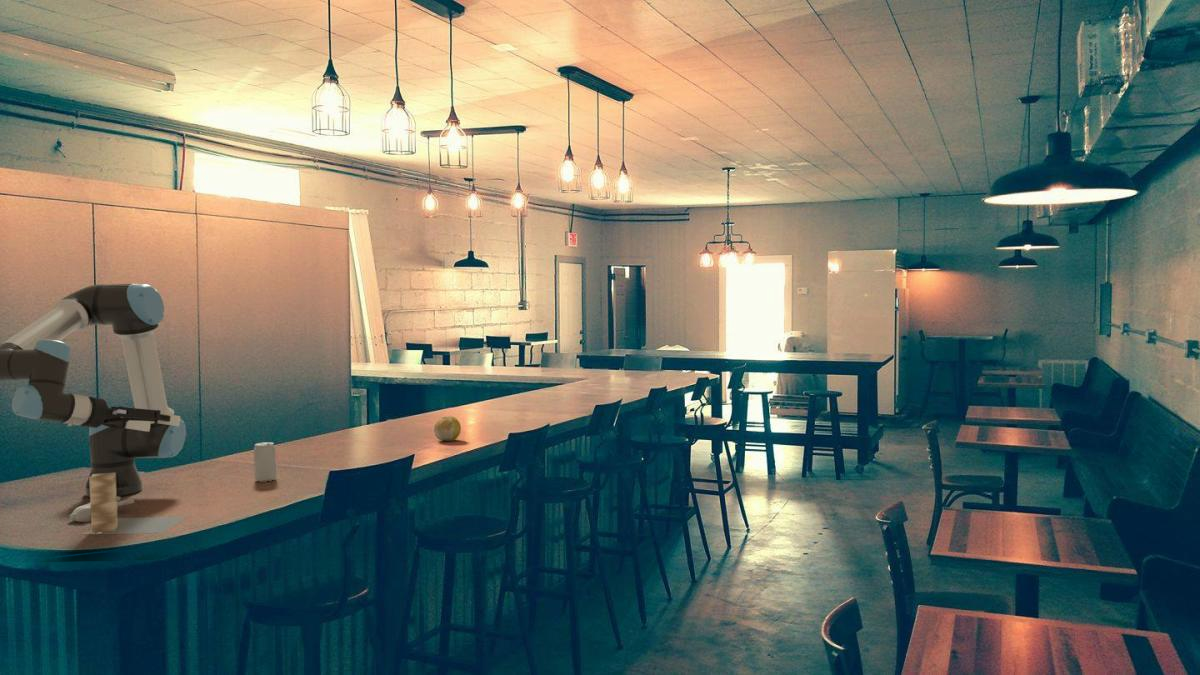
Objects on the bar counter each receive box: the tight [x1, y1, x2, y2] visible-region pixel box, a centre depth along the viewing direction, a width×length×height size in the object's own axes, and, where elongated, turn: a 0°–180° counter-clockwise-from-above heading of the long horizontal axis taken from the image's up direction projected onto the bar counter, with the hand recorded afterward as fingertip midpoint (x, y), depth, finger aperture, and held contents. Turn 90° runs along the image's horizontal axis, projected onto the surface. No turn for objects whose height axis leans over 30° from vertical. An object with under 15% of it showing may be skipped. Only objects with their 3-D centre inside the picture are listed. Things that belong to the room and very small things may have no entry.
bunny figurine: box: [69, 496, 135, 523], centre depth 228 cm, size 10×5×15 cm
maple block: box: [89, 473, 118, 533], centre depth 214 cm, size 5×5×14 cm
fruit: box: [433, 415, 462, 442], centre depth 339 cm, size 10×11×10 cm
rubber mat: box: [100, 516, 189, 535], centre depth 218 cm, size 20×15×1 cm
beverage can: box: [253, 441, 277, 483], centre depth 271 cm, size 6×6×12 cm
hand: (164, 424), depth 230 cm, fingers open, 13 cm apart
